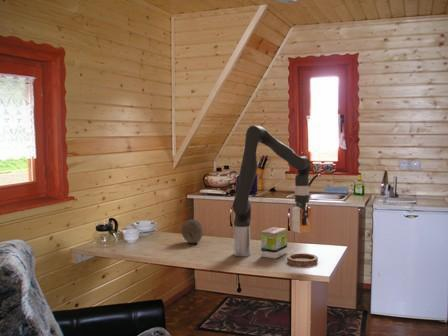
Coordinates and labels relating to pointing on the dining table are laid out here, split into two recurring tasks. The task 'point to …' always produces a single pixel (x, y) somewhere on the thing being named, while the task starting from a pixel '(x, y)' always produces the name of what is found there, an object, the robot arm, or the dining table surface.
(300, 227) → the small box
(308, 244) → the dining table surface
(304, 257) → the tray
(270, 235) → the tea box
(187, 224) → the cantaloupe
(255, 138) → the robot arm
